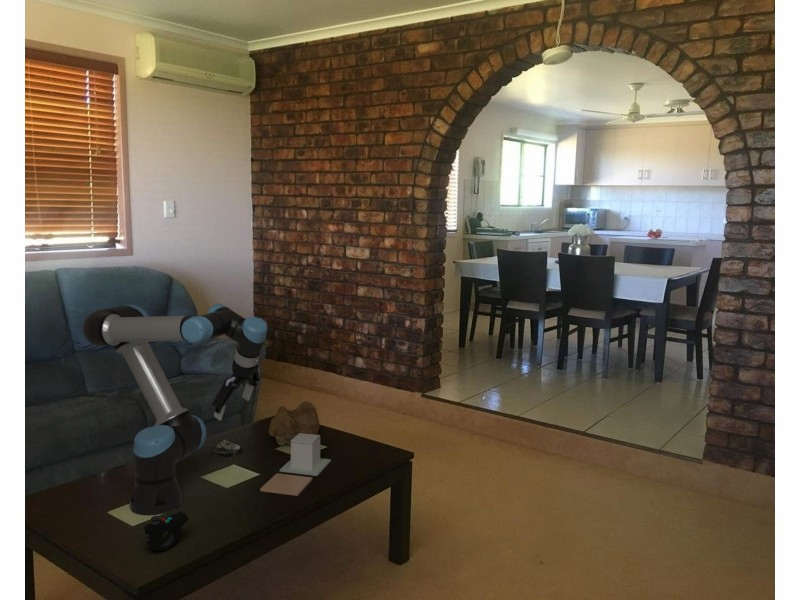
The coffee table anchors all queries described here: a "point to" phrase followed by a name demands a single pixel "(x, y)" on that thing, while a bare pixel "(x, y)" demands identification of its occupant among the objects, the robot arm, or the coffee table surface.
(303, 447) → the white box
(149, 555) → the coffee table surface
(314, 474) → the mat
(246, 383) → the robot arm
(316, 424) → the rough brown rock
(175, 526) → the controller
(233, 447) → the log
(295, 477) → the thin square tile
